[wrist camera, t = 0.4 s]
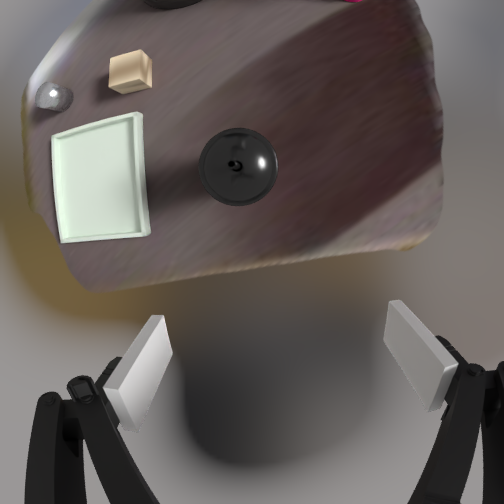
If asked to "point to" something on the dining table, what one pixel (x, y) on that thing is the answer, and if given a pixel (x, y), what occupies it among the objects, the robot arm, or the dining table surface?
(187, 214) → the dining table surface
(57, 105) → the cylinder
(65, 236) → the tray
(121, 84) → the beech block
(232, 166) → the drinking cup
